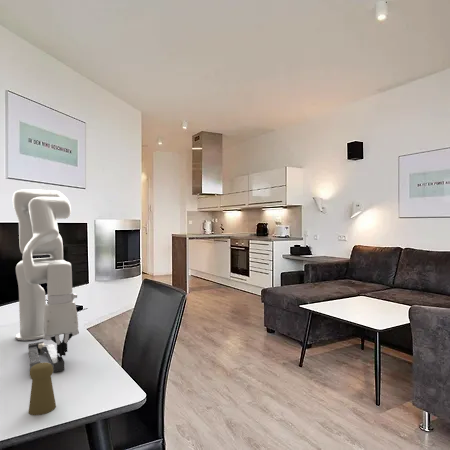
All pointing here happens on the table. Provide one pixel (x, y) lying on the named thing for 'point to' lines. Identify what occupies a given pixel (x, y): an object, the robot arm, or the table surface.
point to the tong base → (34, 353)
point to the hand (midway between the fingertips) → (62, 354)
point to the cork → (41, 389)
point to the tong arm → (52, 356)
